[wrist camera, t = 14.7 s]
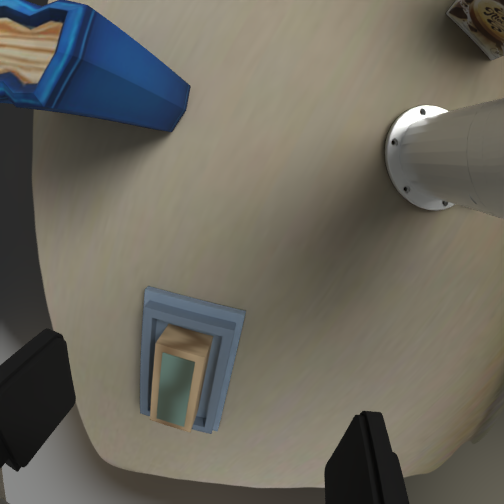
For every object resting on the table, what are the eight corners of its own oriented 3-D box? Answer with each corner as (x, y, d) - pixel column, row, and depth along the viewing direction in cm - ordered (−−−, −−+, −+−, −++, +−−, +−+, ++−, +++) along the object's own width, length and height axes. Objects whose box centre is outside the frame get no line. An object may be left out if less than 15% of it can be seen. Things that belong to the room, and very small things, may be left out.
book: (204, 85, 33) (86, -17, 9) (182, 141, 35) (28, 118, 11) (69, 56, 33) (-68, 13, 9) (52, 102, 35) (-95, 87, 11)
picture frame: (213, 336, 40) (204, 358, 35) (198, 409, 44) (190, 433, 39) (168, 323, 40) (155, 343, 35) (160, 398, 44) (149, 420, 39)
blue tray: (245, 310, 40) (243, 322, 37) (218, 426, 46) (215, 440, 43) (148, 286, 40) (138, 295, 37) (142, 404, 46) (135, 416, 43)
